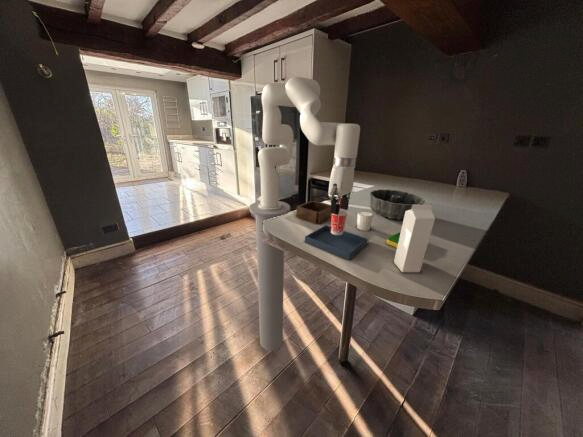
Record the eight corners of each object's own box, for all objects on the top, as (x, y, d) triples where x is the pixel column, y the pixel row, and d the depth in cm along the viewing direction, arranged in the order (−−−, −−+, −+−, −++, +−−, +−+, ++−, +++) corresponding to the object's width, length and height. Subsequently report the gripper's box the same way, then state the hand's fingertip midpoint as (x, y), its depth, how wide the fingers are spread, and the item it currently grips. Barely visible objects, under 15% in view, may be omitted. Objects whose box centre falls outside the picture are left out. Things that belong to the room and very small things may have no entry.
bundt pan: (420, 211, 128) (424, 193, 124) (420, 228, 107) (425, 207, 103) (371, 203, 139) (374, 186, 136) (362, 217, 118) (365, 198, 114)
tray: (304, 242, 91) (305, 236, 90) (325, 230, 102) (325, 224, 101) (348, 259, 80) (349, 253, 79) (366, 244, 91) (367, 238, 90)
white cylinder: (366, 224, 109) (368, 210, 106) (374, 230, 103) (376, 216, 100) (353, 225, 108) (355, 211, 105) (360, 231, 102) (362, 216, 99)
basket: (295, 216, 116) (295, 206, 114) (311, 209, 126) (312, 200, 124) (318, 224, 107) (319, 213, 105) (334, 216, 117) (335, 206, 115)
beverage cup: (345, 230, 91) (349, 196, 86) (344, 237, 86) (348, 201, 81) (329, 228, 93) (333, 194, 88) (327, 234, 87) (331, 199, 82)
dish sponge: (420, 241, 95) (421, 235, 94) (403, 251, 87) (404, 245, 86) (403, 234, 100) (404, 229, 99) (386, 243, 92) (387, 238, 91)
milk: (419, 272, 74) (439, 208, 66) (401, 272, 74) (418, 208, 65) (410, 261, 80) (426, 201, 71) (393, 261, 80) (407, 201, 71)
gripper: (346, 158, 88) (341, 203, 94) (321, 163, 75) (317, 215, 82) (365, 161, 83) (358, 208, 90) (342, 166, 71) (336, 220, 78)
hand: (339, 210), depth 86 cm, fingers closed on beverage cup, 6 cm apart
